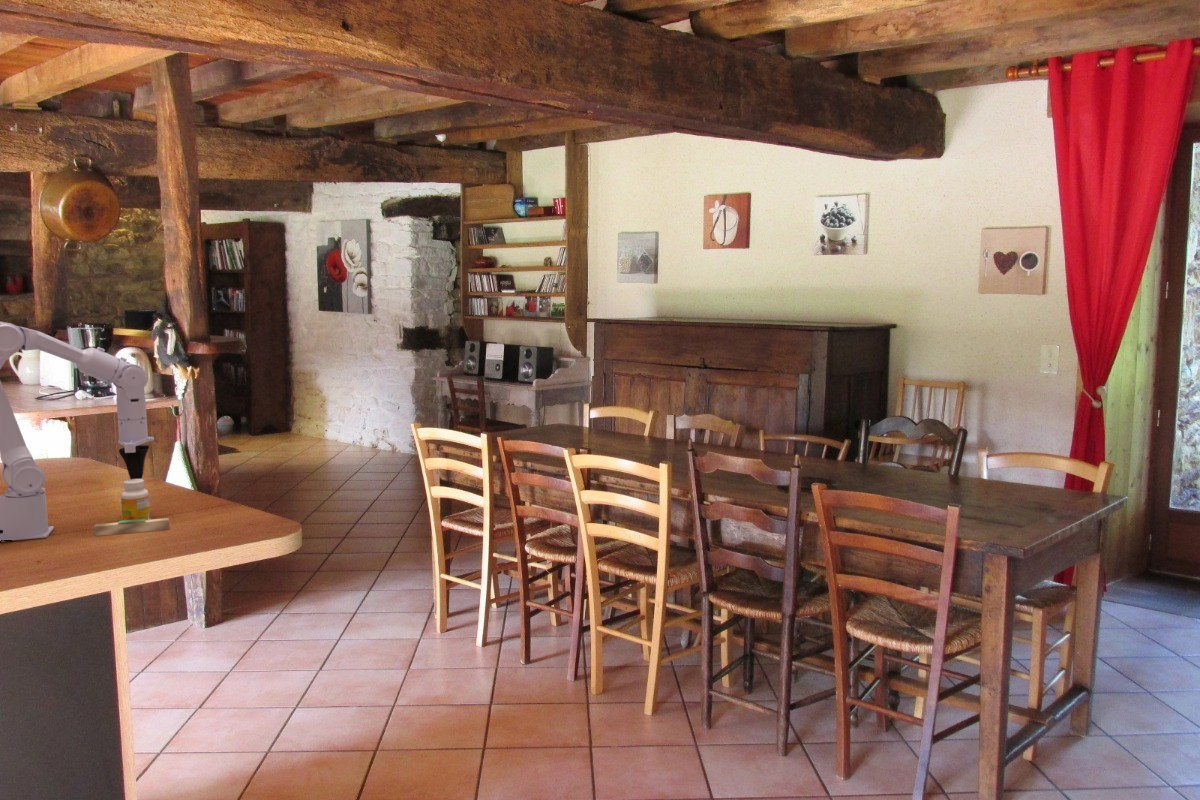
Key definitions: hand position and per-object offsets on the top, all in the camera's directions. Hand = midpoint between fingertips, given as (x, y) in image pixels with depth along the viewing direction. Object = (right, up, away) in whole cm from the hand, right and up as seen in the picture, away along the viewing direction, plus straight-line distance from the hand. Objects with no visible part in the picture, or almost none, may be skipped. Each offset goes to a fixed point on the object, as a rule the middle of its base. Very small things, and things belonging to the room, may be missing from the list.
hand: (136, 479), depth 214 cm
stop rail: (+4, -10, -10) cm, 15 cm away
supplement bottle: (+3, -10, -5) cm, 11 cm away
